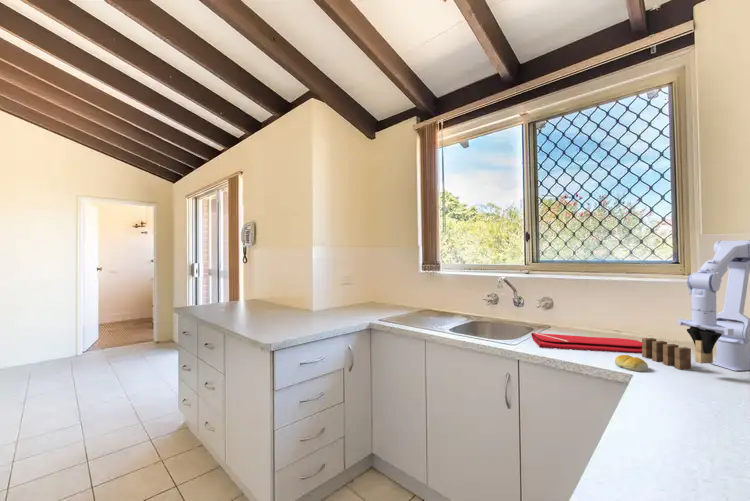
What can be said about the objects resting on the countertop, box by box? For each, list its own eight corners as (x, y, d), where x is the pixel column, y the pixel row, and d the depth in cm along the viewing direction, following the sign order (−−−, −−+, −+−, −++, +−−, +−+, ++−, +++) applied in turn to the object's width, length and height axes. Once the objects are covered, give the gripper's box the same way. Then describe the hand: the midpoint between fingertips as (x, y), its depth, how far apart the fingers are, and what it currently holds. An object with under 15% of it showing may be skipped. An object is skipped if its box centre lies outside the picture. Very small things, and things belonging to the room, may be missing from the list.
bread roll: (626, 362, 119) (626, 351, 119) (652, 371, 110) (652, 359, 110) (608, 364, 117) (608, 353, 117) (633, 373, 108) (633, 361, 108)
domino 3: (674, 363, 116) (673, 343, 116) (678, 364, 115) (678, 345, 115) (663, 364, 116) (662, 344, 116) (667, 365, 114) (667, 345, 114)
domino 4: (685, 367, 112) (685, 347, 112) (690, 369, 111) (690, 348, 111) (674, 368, 112) (674, 347, 112) (679, 369, 110) (679, 349, 110)
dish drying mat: (654, 355, 127) (654, 346, 127) (540, 349, 136) (539, 340, 136) (632, 344, 142) (632, 335, 142) (530, 339, 151) (530, 331, 151)
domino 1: (652, 356, 124) (652, 337, 124) (656, 357, 123) (656, 339, 123) (642, 356, 124) (641, 338, 124) (646, 358, 122) (645, 339, 122)
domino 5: (707, 361, 106) (707, 339, 106) (712, 363, 104) (712, 341, 104) (695, 361, 105) (695, 340, 105) (700, 363, 104) (700, 341, 104)
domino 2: (662, 359, 120) (662, 340, 120) (667, 361, 119) (667, 342, 119) (652, 360, 120) (652, 341, 120) (656, 361, 118) (656, 342, 118)
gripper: (669, 306, 112) (670, 346, 112) (719, 314, 97) (719, 360, 97) (687, 306, 113) (688, 345, 113) (739, 314, 98) (739, 359, 98)
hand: (703, 352), depth 105 cm, fingers closed on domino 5, 1 cm apart
